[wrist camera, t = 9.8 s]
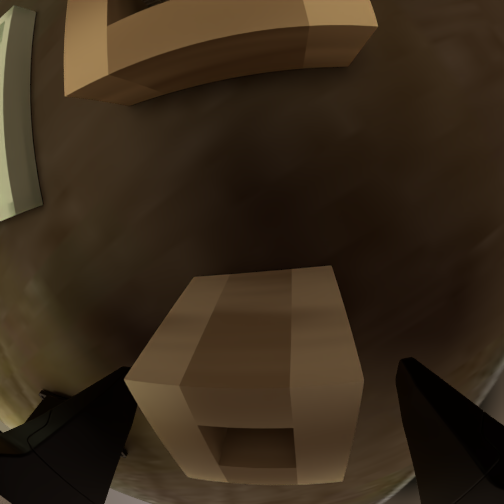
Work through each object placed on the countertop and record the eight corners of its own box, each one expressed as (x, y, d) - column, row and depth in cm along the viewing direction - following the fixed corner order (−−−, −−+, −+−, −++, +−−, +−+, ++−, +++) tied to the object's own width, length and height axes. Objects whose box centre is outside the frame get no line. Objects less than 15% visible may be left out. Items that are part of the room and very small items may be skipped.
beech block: (332, 370, 11) (342, 481, 6) (220, 374, 12) (187, 477, 7) (331, 265, 10) (363, 380, 5) (194, 276, 11) (123, 379, 5)
